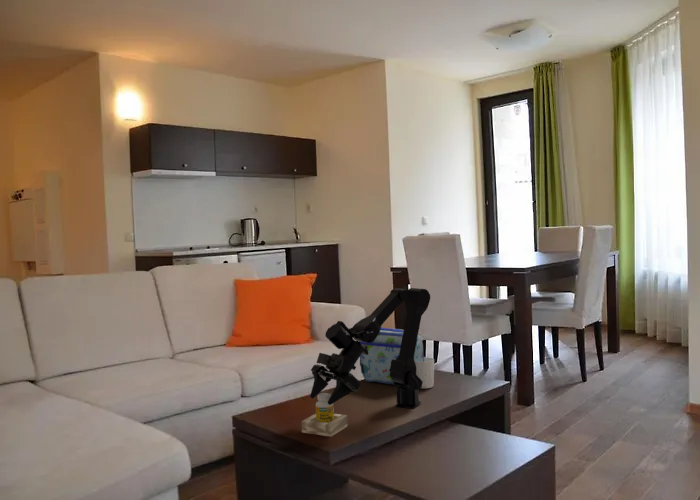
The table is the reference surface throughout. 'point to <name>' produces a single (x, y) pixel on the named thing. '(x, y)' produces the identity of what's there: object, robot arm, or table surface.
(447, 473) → the table surface
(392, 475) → the table surface
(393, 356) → the lunch box
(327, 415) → the supplement bottle
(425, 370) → the white cup
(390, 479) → the table surface
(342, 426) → the holder
